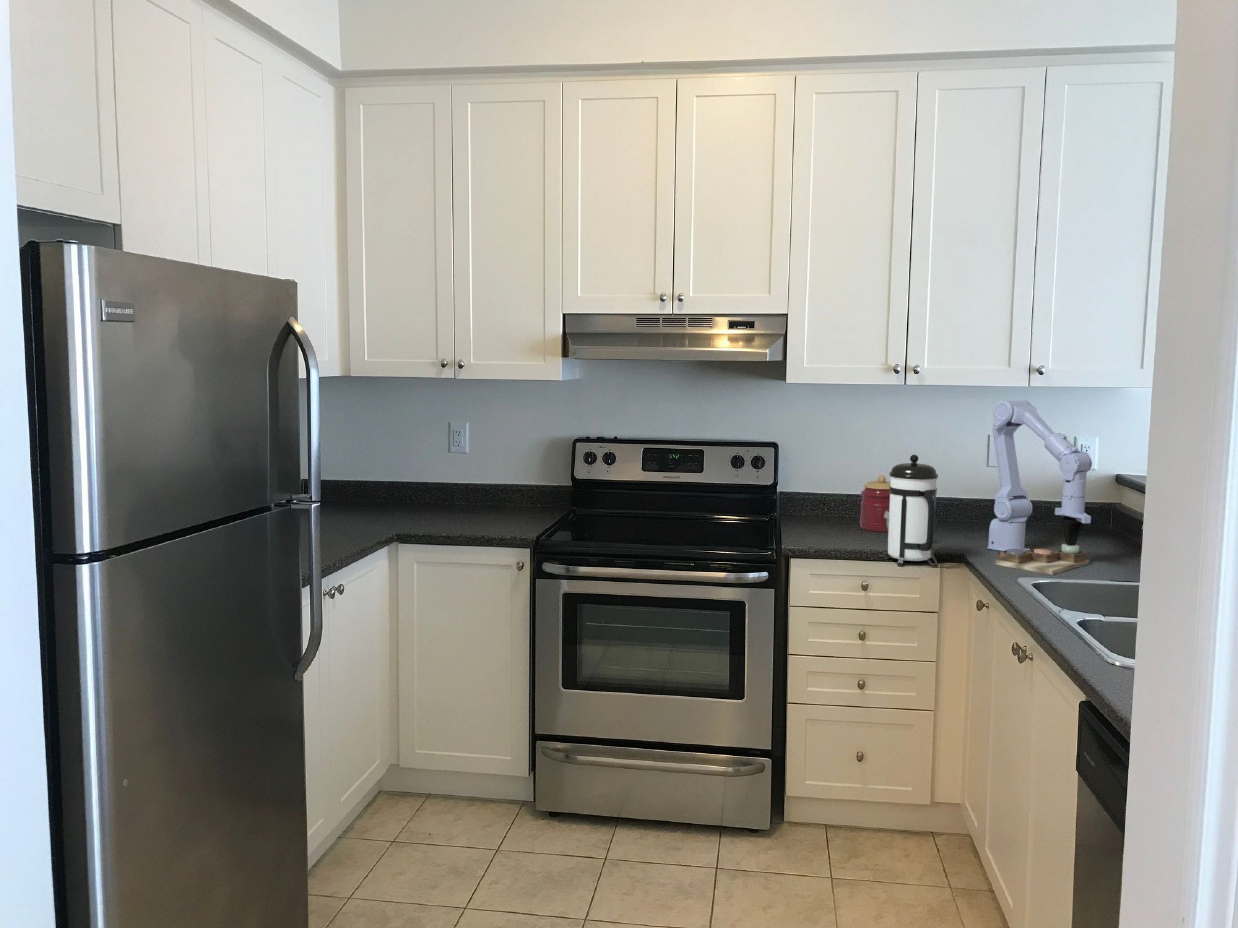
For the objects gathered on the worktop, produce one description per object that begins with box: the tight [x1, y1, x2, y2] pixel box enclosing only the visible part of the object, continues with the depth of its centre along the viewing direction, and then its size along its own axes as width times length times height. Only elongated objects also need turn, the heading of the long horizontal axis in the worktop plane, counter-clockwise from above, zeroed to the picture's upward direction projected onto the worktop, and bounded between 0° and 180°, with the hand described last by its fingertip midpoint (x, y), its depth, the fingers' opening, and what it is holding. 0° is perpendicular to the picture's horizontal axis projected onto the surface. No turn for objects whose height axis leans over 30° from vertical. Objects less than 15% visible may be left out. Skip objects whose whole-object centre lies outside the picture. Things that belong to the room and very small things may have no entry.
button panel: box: [994, 548, 1090, 576], centre depth 266 cm, size 16×21×3 cm
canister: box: [859, 475, 891, 533], centre depth 318 cm, size 13×13×18 cm
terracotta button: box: [1033, 548, 1053, 555], centre depth 266 cm, size 4×4×3 cm
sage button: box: [1060, 543, 1080, 554], centre depth 267 cm, size 4×4×3 cm
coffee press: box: [883, 454, 939, 568], centre depth 265 cm, size 17×16×30 cm
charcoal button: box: [1007, 549, 1024, 555], centre depth 266 cm, size 4×4×3 cm
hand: (1070, 544), depth 267 cm, fingers closed
